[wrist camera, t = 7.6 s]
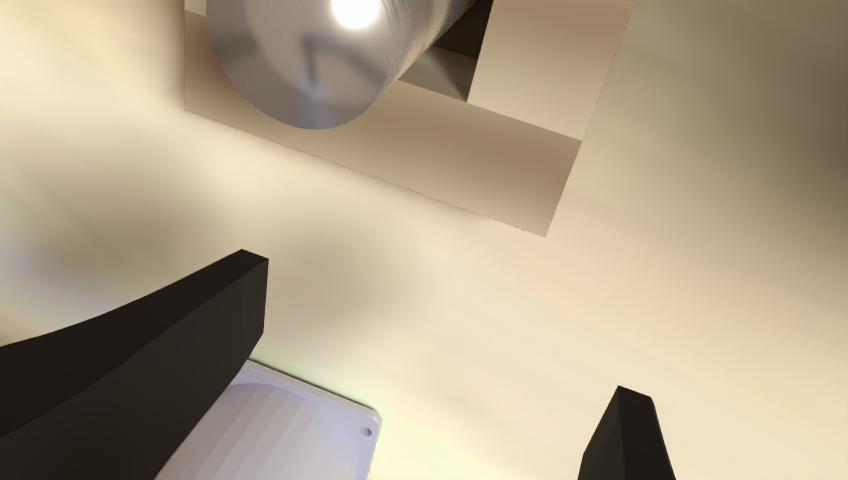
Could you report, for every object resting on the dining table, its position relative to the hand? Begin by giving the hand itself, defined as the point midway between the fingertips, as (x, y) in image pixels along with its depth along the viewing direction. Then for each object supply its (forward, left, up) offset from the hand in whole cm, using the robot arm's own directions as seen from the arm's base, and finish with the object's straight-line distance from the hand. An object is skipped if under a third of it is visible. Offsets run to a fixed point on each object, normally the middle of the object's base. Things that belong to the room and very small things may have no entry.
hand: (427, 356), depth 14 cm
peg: (+5, +4, -9) cm, 11 cm away
